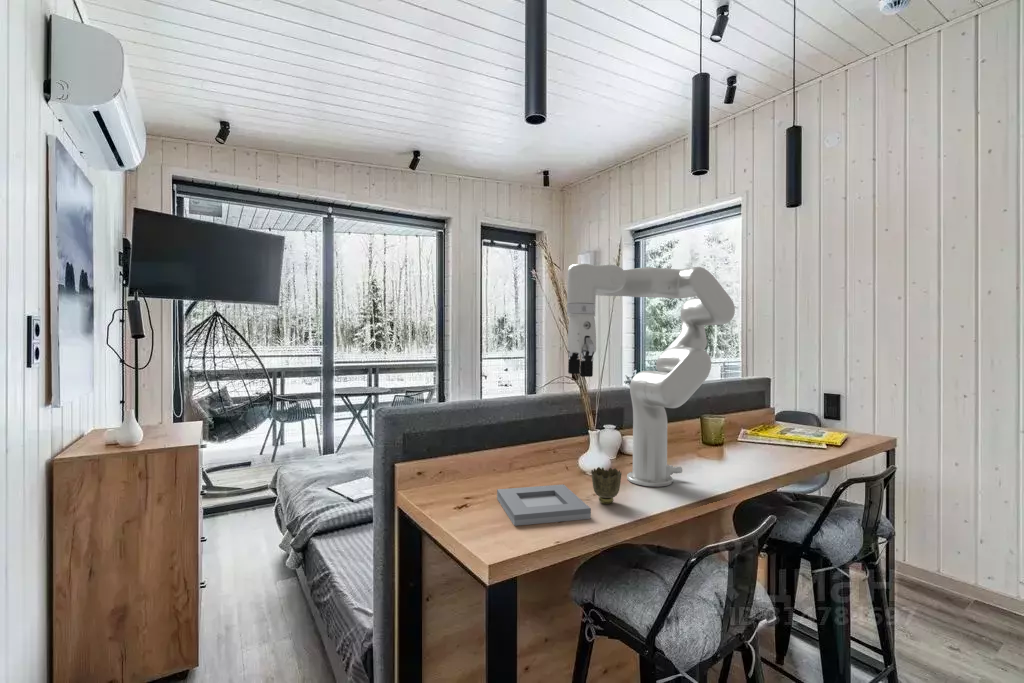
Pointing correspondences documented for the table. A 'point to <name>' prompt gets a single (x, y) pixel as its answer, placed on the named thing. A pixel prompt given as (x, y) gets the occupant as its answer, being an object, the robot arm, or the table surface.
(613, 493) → the cup
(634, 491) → the table surface
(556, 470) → the table surface
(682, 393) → the robot arm
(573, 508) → the display stand
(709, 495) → the table surface
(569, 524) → the table surface
